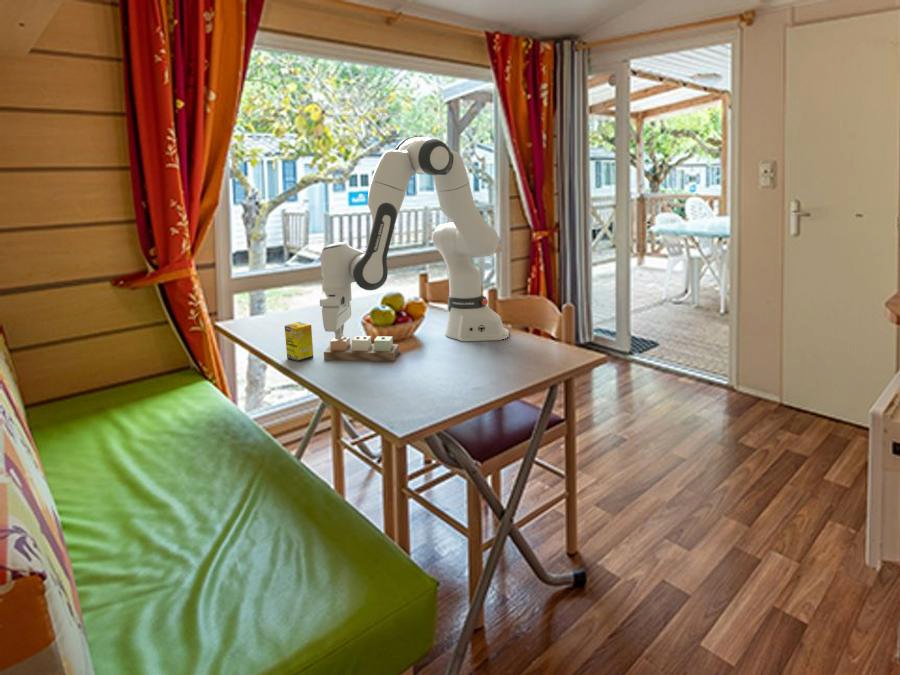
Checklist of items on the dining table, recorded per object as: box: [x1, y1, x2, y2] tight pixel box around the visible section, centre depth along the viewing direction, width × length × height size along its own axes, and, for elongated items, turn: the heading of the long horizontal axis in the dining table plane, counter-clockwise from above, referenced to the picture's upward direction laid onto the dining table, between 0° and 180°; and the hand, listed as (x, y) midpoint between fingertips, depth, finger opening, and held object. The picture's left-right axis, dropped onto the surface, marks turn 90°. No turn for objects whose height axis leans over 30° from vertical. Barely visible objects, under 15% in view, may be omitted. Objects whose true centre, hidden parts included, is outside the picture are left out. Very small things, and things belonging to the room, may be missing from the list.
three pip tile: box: [329, 336, 351, 350], centre depth 199 cm, size 5×5×4 cm
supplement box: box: [284, 321, 314, 363], centre depth 196 cm, size 6×6×11 cm
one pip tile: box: [373, 335, 394, 351], centre depth 198 cm, size 5×5×4 cm
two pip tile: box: [351, 335, 372, 351], centre depth 199 cm, size 5×5×4 cm
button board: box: [323, 342, 400, 362], centre depth 199 cm, size 22×10×2 cm, turn 85°
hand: (339, 338), depth 198 cm, fingers closed, pressing on three pip tile
